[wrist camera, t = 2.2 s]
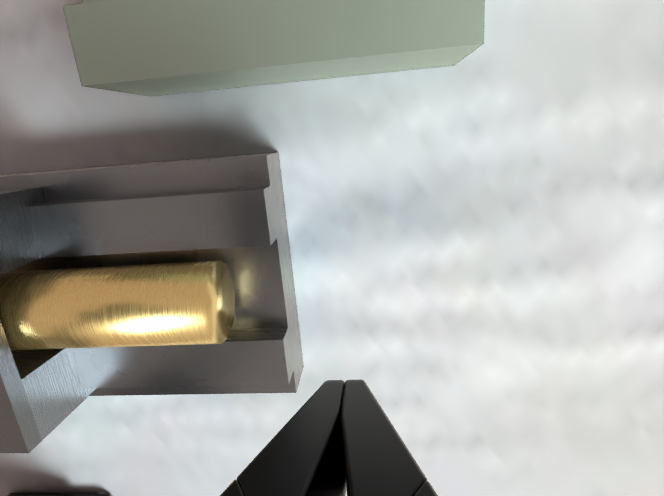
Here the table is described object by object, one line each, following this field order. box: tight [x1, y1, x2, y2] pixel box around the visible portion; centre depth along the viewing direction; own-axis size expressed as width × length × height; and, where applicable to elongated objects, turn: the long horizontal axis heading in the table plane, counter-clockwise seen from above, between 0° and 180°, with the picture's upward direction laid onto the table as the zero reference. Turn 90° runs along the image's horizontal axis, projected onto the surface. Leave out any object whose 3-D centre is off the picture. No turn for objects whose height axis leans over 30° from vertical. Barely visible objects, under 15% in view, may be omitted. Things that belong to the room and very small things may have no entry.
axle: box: [0, 261, 235, 350], centre depth 15 cm, size 3×14×3 cm, turn 95°
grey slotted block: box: [0, 152, 303, 453], centre depth 16 cm, size 10×14×6 cm
